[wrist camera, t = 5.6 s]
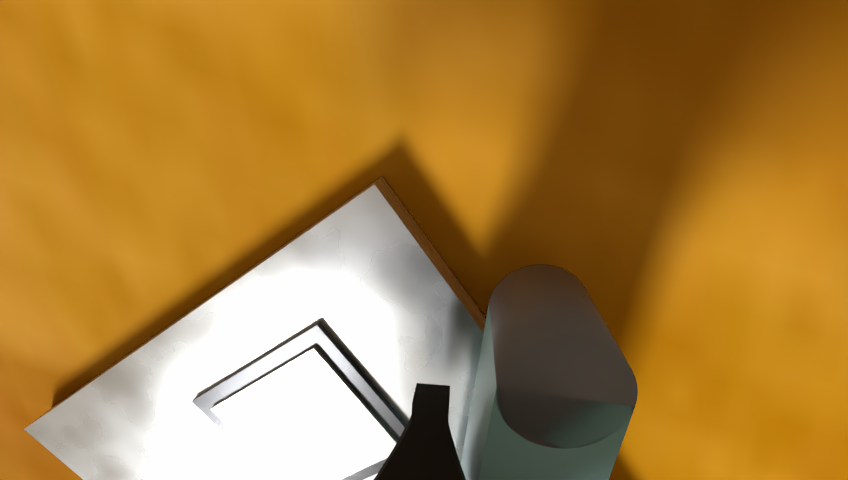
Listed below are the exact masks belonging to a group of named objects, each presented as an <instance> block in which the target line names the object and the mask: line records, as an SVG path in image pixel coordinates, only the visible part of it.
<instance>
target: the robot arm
mask: <svg viewBox="0 0 848 480" xmlns="http://www.w3.org/2000/svg"><path fill="white" fill-rule="evenodd" d="M449 399H450V386H448V385H436V384H423V383H417V384H416V388H415V392H414V397H413V402H412V415H411V417H410V419H409V421H408V423H407V425H406V427H405V429H404V430H403V432H402V434H401V436H400V438H399V440H398V441H397V443H396V445H395V447H394V448H393V450H392V452H391V453H390V455H389V456H388V458H387V460H386V461H385V463H384V464H383V466H382V467H381V469H380V471H379V472H378V474H377V475H376V477H375V478H374V480H466V478H465V475H464V473H463V470H462V467H461V464H460V461H459V458H458V455H457V452H456V448H455V445H454V442H453V438H452V435H451V431H450V427H449V423H448V419H449Z"/></svg>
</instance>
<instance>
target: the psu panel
mask: <svg viewBox="0 0 848 480" xmlns="http://www.w3.org/2000/svg"><path fill="white" fill-rule="evenodd" d="M485 322H486V319H485V317H484V316H483V314H482V313H481V312H480V310H479V309H478V307H477V306H476V305H475V303H474V302H473V301H472V299H471V298H470V296H469V295H468V294H467V292H466V291H465V290H464V288H463V287H462V285H461V284H460V283H459V281H458V280H457V279H456V277H455V276H454V274H453V273H452V272H451V270H450V269H449V267H448V266H447V265H446V263H445V262H444V261H443V259H442V258H441V256H440V255H439V254H438V252H437V251H436V250H435V248H434V247H433V245H432V244H431V243H430V241H429V240H428V238H427V237H426V236H425V234H424V233H423V232H422V230H421V229H420V227H419V226H418V225H417V223H416V222H415V221H414V219H413V218H412V216H411V215H410V214H409V212H408V211H407V210H406V208H405V207H404V205H403V204H402V203H401V201H400V200H399V198H398V197H397V196H396V194H395V193H394V192H393V190H392V189H391V187H390V186H389V185H388V183H387V182H386V181H385V179H384V178H383V176H381V177H380V178H378V179H377V180H376V181H374V182H373V183H371V184H370V185H368V186H367V187H366V188H364V189H363V190H361V191H360V192H359V193H357V194H356V195H354V196H353V197H351V198H350V199H349V200H347V201H346V202H344V203H343V204H341V205H340V206H339V207H337V208H336V209H334V210H333V211H331V212H330V213H329V214H327V215H326V216H324V217H323V218H321V219H320V220H319V221H317V222H316V223H314V224H313V225H311V226H310V227H309V228H307V229H306V230H304V231H303V232H301V233H300V234H299V235H297V236H296V237H294V238H293V239H291V240H290V241H289V242H287V243H286V244H284V245H283V246H282V247H280V248H279V249H277V250H276V251H274V252H273V253H272V254H270V255H269V256H267V257H266V258H264V259H263V260H262V261H260V262H259V263H257V264H256V265H254V266H253V267H252V268H250V269H249V270H247V271H246V272H244V273H243V274H242V275H240V276H239V277H237V278H236V279H234V280H233V281H232V282H230V283H229V284H227V285H226V286H224V287H223V288H222V289H220V290H219V291H217V292H216V293H214V294H213V295H212V296H210V297H209V298H207V299H206V300H205V301H203V302H202V303H200V304H199V305H197V306H196V307H195V308H193V309H192V310H190V311H189V312H187V313H186V314H185V315H183V316H182V317H180V318H179V319H177V320H176V321H175V322H173V323H172V324H170V325H169V326H167V327H166V328H165V329H163V330H162V331H160V332H159V333H157V334H156V335H155V336H153V337H152V338H150V339H149V340H147V341H146V342H145V343H143V344H142V345H140V346H139V347H138V348H136V349H135V350H133V351H132V352H130V353H129V354H128V355H126V356H125V357H123V358H122V359H120V360H119V361H118V362H116V363H115V364H113V365H112V366H110V367H109V368H108V369H106V370H105V371H103V372H102V373H100V374H99V375H98V376H96V377H95V378H93V379H92V380H90V381H89V382H88V383H86V384H85V385H83V386H82V387H80V388H79V389H78V390H76V391H75V392H73V393H72V394H70V395H69V396H68V397H66V398H65V399H63V400H62V401H61V402H59V403H58V404H56V405H55V406H53V407H52V408H51V409H49V410H48V411H47V412H45V413H44V414H43V415H42V416H40V417H39V418H38V419H36V420H35V421H34V422H33V423H31V424H30V425H29V426H27V427H26V428H25V429H24V430H26V431H27V432H28V433H29V434H30V435H32V436H33V437H34V438H35V439H36V440H37V441H39V442H40V443H41V444H42V445H43V446H44V447H46V448H47V449H48V450H49V451H50V452H51V453H53V454H54V455H55V456H56V457H57V458H59V459H60V460H61V461H62V462H63V463H64V464H66V465H67V466H68V467H69V468H70V469H71V470H73V471H74V472H75V473H76V474H77V475H79V476H80V477H81V478H82V479H83V480H374V478H375V477H376V475H377V474H378V472H379V471H380V469H381V467H382V466H383V464H384V463H385V461H386V460H387V458H388V456H389V455H390V453H391V452H392V450H393V448H394V447H395V445H396V443H397V441H398V440H399V438H400V436H401V434H402V432H403V430H404V429H405V427H406V425H407V423H408V421H409V419H410V417H411V415H412V402H413V397H414V392H415V388H416V384H417V383H423V384H436V385H448V386H450V399H449V419H448V423H449V427H450V431H451V435H452V438H453V442H454V445H455V448H456V452H457V455H458V458H459V461H460V464H461V458H462V452H463V447H464V441H465V436H466V430H467V424H468V419H469V413H470V407H471V402H472V396H473V390H474V385H475V379H476V373H477V368H478V362H479V356H480V351H481V345H482V339H483V334H484V328H485Z"/></svg>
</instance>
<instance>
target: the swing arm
mask: <svg viewBox="0 0 848 480" xmlns="http://www.w3.org/2000/svg"><path fill="white" fill-rule="evenodd" d="M636 401H637V383H636V379H635V376H634V374H633V372H632V370H631V368H630V366H629V364H628V363H627V361H626V359H625V357H624V355H623V354H622V352H621V350H620V348H619V347H618V345H617V343H616V341H615V340H614V338H613V336H612V334H611V333H610V331H609V329H608V327H607V325H606V324H605V322H604V320H603V318H602V317H601V315H600V313H599V311H598V310H597V308H596V306H595V304H594V303H593V301H592V299H591V297H590V295H589V294H588V292H587V290H586V288H585V287H584V285H583V284H582V283H581V281H580V280H579V279H578V278H577V277H576V276H574V275H573V274H572V273H570V272H569V271H567V270H565V269H562V268H560V267H557V266H552V265H544V264H539V265H530V266H526V267H522V268H520V269H517V270H515V271H513V272H511V273H510V274H508V275H507V276H506V277H504V278H503V279H502V280H501V281H500V282H499V283H498V285H497V286H496V287H495V289H494V291H493V292H492V295H491V297H490V301H489V305H488V311H487V317H486V322H485V328H484V334H483V339H482V345H481V351H480V356H479V362H478V368H477V373H476V379H475V385H474V390H473V396H472V402H471V407H470V413H469V419H468V424H467V430H466V436H465V441H464V447H463V452H462V458H461V467H462V470H463V473H464V475H465V478H466V480H609V478H610V475H611V472H612V469H613V466H614V464H615V461H616V458H617V455H618V452H619V450H620V447H621V444H622V441H623V438H624V436H625V433H626V430H627V427H628V424H629V422H630V419H631V416H632V413H633V410H634V408H635V404H636Z"/></svg>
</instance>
